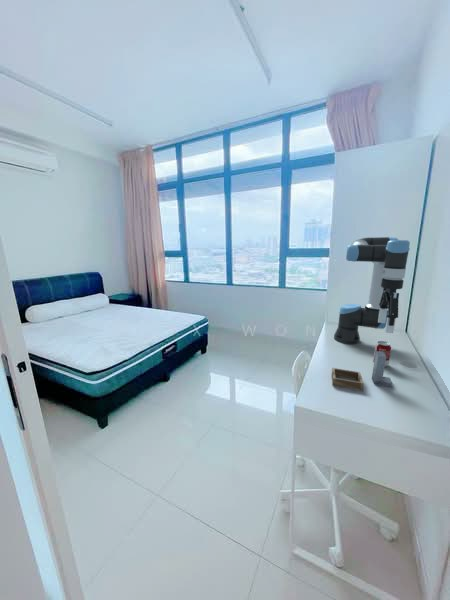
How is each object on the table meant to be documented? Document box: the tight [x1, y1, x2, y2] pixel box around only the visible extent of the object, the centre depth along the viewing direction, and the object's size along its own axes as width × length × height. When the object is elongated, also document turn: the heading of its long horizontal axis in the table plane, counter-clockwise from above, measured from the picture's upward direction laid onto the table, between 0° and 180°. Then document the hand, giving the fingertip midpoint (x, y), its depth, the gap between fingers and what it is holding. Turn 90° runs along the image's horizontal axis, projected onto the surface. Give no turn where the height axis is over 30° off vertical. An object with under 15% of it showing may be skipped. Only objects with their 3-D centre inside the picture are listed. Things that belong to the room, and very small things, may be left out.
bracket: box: [371, 351, 393, 388], centre depth 110 cm, size 7×5×14 cm
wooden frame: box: [331, 367, 365, 392], centre depth 112 cm, size 10×12×4 cm
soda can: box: [372, 340, 392, 367], centre depth 127 cm, size 7×7×12 cm
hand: (385, 327), depth 106 cm, fingers open, 13 cm apart
